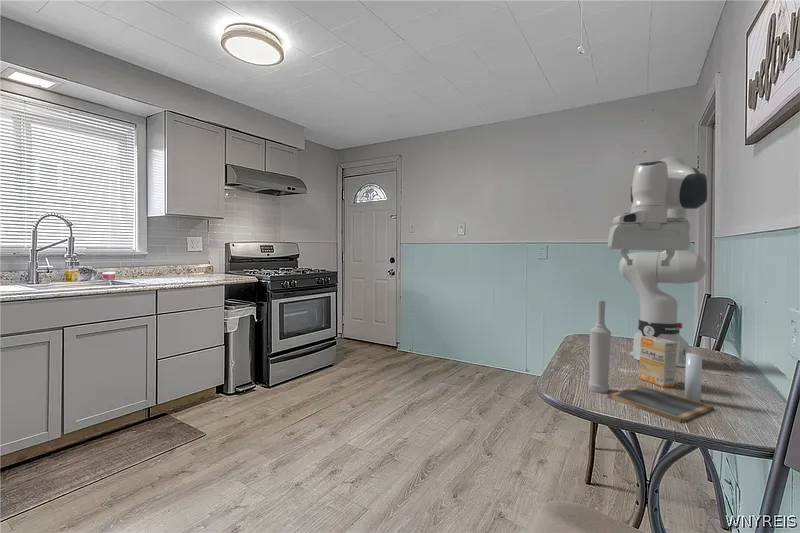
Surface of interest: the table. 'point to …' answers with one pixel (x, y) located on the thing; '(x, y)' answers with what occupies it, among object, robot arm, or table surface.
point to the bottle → (599, 352)
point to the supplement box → (658, 361)
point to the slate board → (661, 403)
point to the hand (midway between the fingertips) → (646, 265)
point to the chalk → (693, 376)
